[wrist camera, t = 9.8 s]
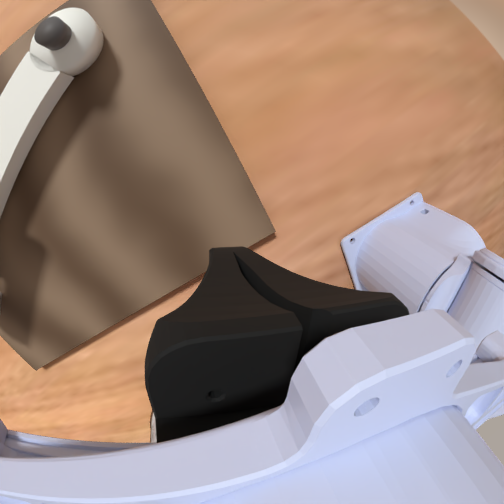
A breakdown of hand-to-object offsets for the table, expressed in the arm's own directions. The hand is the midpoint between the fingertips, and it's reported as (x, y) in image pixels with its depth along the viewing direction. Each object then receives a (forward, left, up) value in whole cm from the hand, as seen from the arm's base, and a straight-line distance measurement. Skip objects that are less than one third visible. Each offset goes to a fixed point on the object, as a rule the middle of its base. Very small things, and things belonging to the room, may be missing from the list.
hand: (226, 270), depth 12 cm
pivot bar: (+8, -11, -8) cm, 16 cm away
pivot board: (+9, -7, -9) cm, 15 cm away
